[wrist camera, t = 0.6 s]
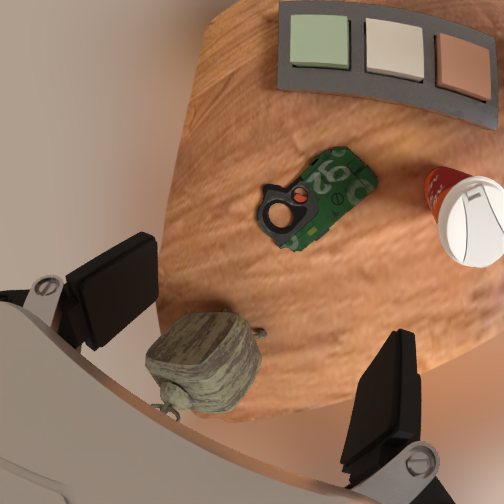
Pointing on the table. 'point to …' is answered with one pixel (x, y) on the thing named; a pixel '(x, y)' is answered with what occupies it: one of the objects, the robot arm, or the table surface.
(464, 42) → the terracotta button
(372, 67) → the cream button
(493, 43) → the button panel
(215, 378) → the tabletop clock
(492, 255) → the paper cup
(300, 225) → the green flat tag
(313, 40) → the sage green button
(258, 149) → the table surface
